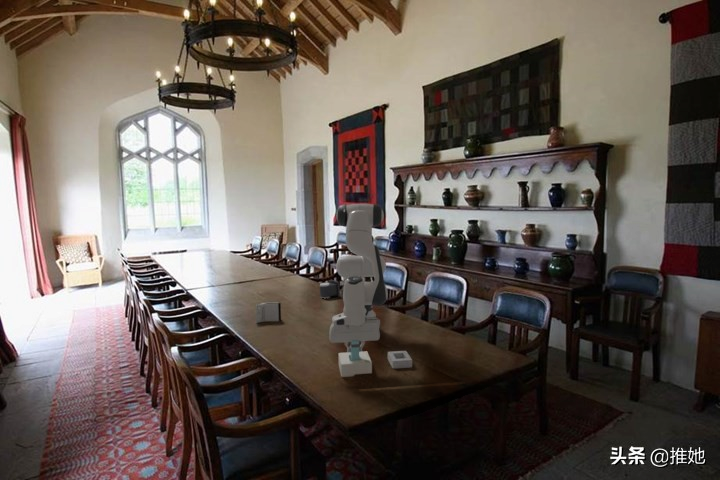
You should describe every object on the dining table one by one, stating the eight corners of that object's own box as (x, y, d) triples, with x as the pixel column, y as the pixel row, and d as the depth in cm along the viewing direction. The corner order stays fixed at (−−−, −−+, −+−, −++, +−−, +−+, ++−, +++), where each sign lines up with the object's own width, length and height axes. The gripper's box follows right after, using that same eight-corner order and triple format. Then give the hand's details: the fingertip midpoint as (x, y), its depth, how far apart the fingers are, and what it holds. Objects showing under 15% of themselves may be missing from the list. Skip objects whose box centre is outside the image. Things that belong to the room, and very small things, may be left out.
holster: (387, 360, 173) (387, 351, 172) (405, 359, 174) (405, 350, 174) (392, 370, 163) (392, 361, 163) (412, 369, 164) (412, 359, 164)
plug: (350, 361, 165) (350, 337, 164) (357, 360, 166) (357, 337, 165) (351, 365, 161) (351, 341, 160) (359, 365, 161) (359, 340, 160)
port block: (338, 364, 169) (338, 352, 168) (367, 362, 171) (367, 350, 170) (341, 377, 157) (341, 364, 157) (371, 375, 159) (371, 362, 158)
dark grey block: (316, 298, 284) (315, 282, 282) (331, 294, 292) (330, 279, 291) (325, 300, 276) (324, 285, 274) (341, 296, 284) (340, 281, 282)
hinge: (255, 323, 226) (255, 305, 225) (255, 320, 231) (255, 303, 230) (281, 321, 229) (280, 303, 228) (280, 318, 234) (280, 301, 233)
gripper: (378, 314, 166) (378, 347, 168) (328, 316, 163) (329, 350, 165) (381, 319, 160) (381, 353, 161) (329, 321, 157) (330, 356, 158)
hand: (354, 351), depth 163 cm, fingers closed on plug, 3 cm apart
